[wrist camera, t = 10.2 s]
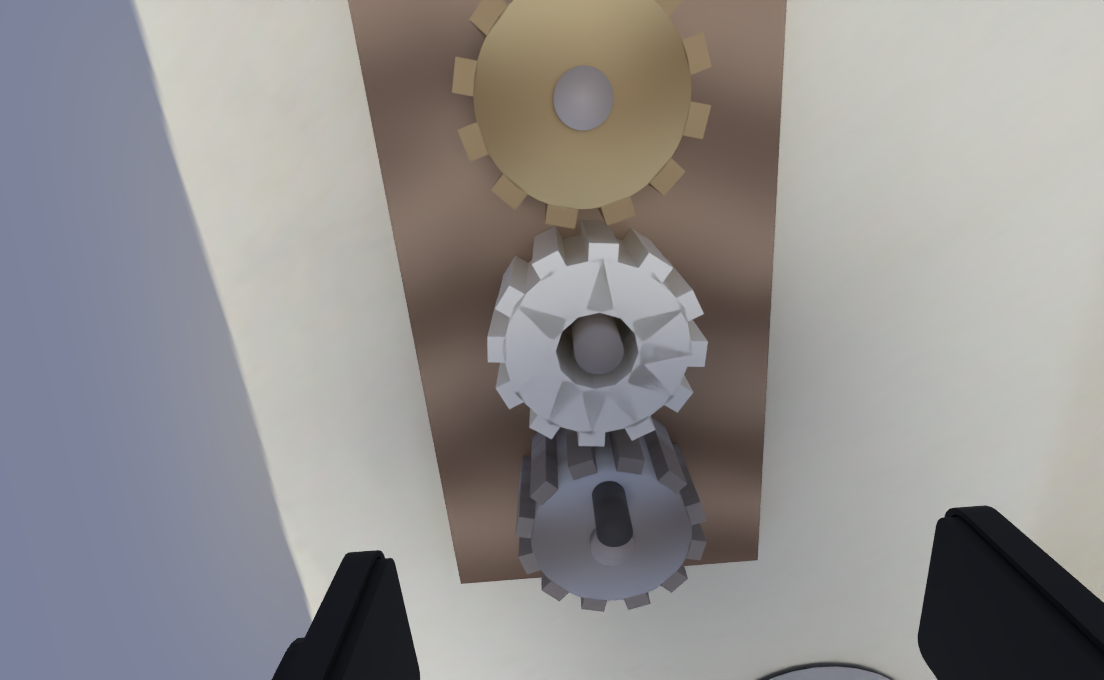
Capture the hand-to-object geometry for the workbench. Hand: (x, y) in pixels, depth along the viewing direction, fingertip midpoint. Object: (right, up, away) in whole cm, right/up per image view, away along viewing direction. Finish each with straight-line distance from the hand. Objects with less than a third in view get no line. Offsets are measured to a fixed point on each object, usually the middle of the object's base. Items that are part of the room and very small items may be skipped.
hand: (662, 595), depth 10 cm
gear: (-1, +6, +12) cm, 14 cm away
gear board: (-1, +6, +14) cm, 15 cm away
